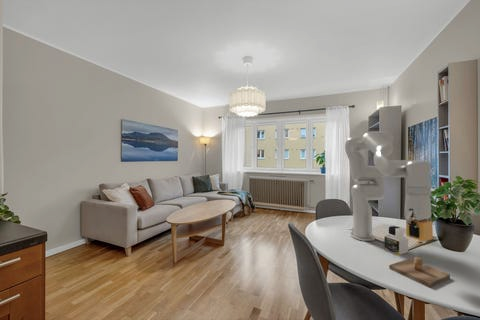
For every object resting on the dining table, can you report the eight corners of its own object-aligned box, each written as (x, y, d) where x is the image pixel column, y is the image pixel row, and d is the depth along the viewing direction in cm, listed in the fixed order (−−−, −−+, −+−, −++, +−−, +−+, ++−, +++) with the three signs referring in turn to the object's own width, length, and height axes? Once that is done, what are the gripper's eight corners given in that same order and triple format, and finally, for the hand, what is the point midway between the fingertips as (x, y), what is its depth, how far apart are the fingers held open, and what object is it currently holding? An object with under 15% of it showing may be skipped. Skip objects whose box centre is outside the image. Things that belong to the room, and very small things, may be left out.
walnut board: (389, 268, 88) (389, 254, 88) (409, 261, 94) (409, 248, 93) (429, 287, 75) (429, 271, 75) (450, 278, 81) (450, 263, 81)
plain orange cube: (406, 236, 85) (406, 219, 85) (415, 234, 88) (414, 217, 88) (423, 241, 80) (423, 223, 80) (432, 239, 82) (432, 221, 82)
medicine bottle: (384, 249, 106) (384, 226, 106) (393, 246, 109) (393, 224, 109) (399, 255, 100) (398, 230, 99) (408, 252, 102) (408, 228, 102)
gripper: (419, 188, 90) (420, 229, 90) (394, 191, 84) (395, 235, 84) (441, 190, 84) (442, 235, 84) (416, 194, 77) (417, 242, 77)
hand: (419, 234), depth 84 cm, fingers closed on plain orange cube, 6 cm apart
